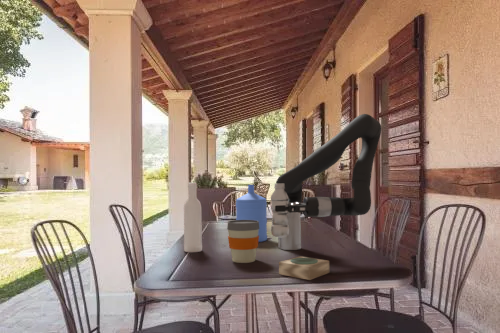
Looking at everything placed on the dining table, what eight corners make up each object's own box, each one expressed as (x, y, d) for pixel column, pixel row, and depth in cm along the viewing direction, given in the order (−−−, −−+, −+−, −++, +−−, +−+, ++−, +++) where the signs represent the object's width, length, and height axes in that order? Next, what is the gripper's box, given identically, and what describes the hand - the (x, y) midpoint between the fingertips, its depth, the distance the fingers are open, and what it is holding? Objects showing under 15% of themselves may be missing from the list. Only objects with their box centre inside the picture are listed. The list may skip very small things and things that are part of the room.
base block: (279, 274, 134) (278, 261, 134) (299, 267, 143) (299, 255, 143) (309, 280, 126) (309, 266, 127) (329, 272, 135) (329, 259, 136)
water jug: (267, 242, 197) (266, 185, 197) (235, 243, 197) (234, 185, 198) (266, 237, 212) (266, 184, 213) (236, 238, 213) (236, 184, 213)
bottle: (185, 253, 173) (184, 182, 174) (182, 249, 181) (181, 182, 181) (203, 251, 176) (203, 182, 176) (200, 248, 183) (199, 182, 184)
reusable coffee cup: (229, 264, 150) (228, 223, 150) (226, 257, 162) (225, 220, 162) (262, 263, 152) (262, 222, 152) (256, 256, 164) (256, 219, 164)
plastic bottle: (288, 239, 147) (287, 183, 147) (269, 238, 148) (269, 183, 148) (290, 236, 153) (289, 183, 153) (272, 235, 154) (271, 183, 154)
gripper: (311, 195, 160) (269, 196, 157) (323, 198, 146) (277, 199, 143) (311, 214, 160) (269, 215, 157) (323, 219, 146) (277, 220, 143)
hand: (273, 207), depth 150 cm, fingers closed on plastic bottle, 6 cm apart
